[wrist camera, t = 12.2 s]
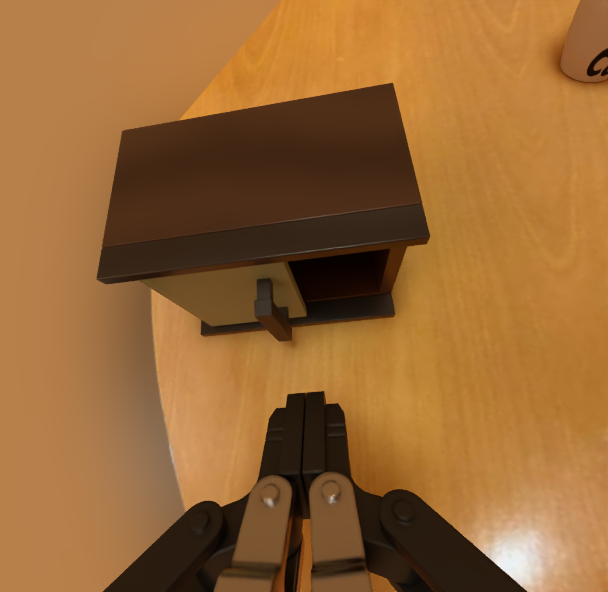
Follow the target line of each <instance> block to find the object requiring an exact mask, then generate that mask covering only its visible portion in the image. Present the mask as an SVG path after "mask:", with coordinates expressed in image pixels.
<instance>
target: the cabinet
mask: <svg viewBox="0 0 608 592" xmlns="http://www.w3.org/2000/svg"><path fill="white" fill-rule="evenodd" d="M429 238H430V234H429V230H428V226H427V222H426V217H425V213H424V209H423V205H422V200H421V196H420V192H419V188H418V184H417V180H416V176H415V172H414V167H413V163H412V159H411V155H410V151H409V147H408V143H407V139H406V135H405V130H404V126H403V122H402V118H401V114H400V110H399V106H398V102H397V98H396V93H395V89H394V85H393V83H389V84H383V85H377V86H372V87H366V88H361V89H355V90H349V91H344V92H338V93H332V94H327V95H321V96H315V97H310V98H304V99H298V100H293V101H287V102H282V103H276V104H270V105H265V106H259V107H253V108H248V109H242V110H236V111H231V112H225V113H219V114H214V115H208V116H203V117H197V118H191V119H186V120H180V121H174V122H169V123H163V124H157V125H152V126H146V127H140V128H135V129H129V130H124V131H122V136H121V141H120V147H119V153H118V158H117V164H116V170H115V176H114V181H113V187H112V193H111V198H110V204H109V210H108V215H107V221H106V227H105V233H104V239H103V244H102V247H103V248H102V250H101V256H100V262H99V268H98V274H97V280H99V281H100V282H103V283H104V284H113V283H121V282H128V281H137V280H145V279H153V278H161V277H169V276H177V275H185V274H192V273H200V272H208V271H216V270H224V269H232V268H240V267H248V266H256V265H264V264H272V263H280V262H288V264H289V267H290V269H291V272H292V274H293V276H294V279H295V281H296V284H297V286H298V289H299V291H300V293H301V296H302V298H303V301H304V303H305V306H306V309H307V316H305V317H296V318H289V324H290V326H291V327H300V326H309V325H319V324H328V323H338V322H348V321H357V320H367V319H376V318H386V317H394V315H395V311H394V305H393V300H392V294H391V292H392V289H393V286H394V283H395V280H396V277H397V274H398V272H399V269H400V266H401V263H402V260H403V257H404V254H405V251H406V248H407V246H415V245H423V244H427V242H428V240H429ZM261 330H267V329H266V328H265V327H264V326H263V325H262V324H261V323H260V322H259V321H258V322H249V323H240V324H231V325H221V326H210V325H209V324H207V323H206V322H204V321H202V320H201V335H202V336H214V335H223V334H233V333H242V332H252V331H261Z"/></svg>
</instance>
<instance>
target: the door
mask: <svg viewBox="0 0 608 592" xmlns="http://www.w3.org/2000/svg"><path fill="white" fill-rule="evenodd" d="M139 281H140V282H142V283H144V284H145V285H147V286H148V287H150V288H152V289H153V290H155V291H156V292H158V293H160V294H161V295H163V296H164V297H166V298H167V299H169V300H171V301H172V302H174V303H175V304H177V305H179V306H180V307H182V308H183V309H185V310H187V311H188V312H190V313H191V314H193V315H194V316H196V317H198V318H199V319H201V320H202V321H204V322H206V323H207V324H209V325H210V326H221V325H231V324H240V323H249V322H258V321H259V322H260V323H261V324H262V325H263V326H264V327H265V328H266V329H267V330H268V331H269V332H270V333H271V334H272V335H273V336H274V337H275V338H276V339H277V340H278V341H279V342H281V341H291V340H292V328H291V326H290V324H289V318H296V317H305V316H307V309H306V306H305V303H304V301H303V298H302V296H301V293H300V291H299V289H298V286H297V284H296V281H295V279H294V276H293V274H292V272H291V269H290V267H289V264H288V262H280V263H272V264H264V265H256V266H248V267H240V268H232V269H224V270H216V271H208V272H200V273H192V274H185V275H177V276H169V277H161V278H153V279H145V280H139Z"/></svg>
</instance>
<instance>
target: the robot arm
mask: <svg viewBox="0 0 608 592" xmlns="http://www.w3.org/2000/svg"><path fill="white" fill-rule="evenodd" d="M303 519H310V520H311V541H312V562H313V566H312V569H311V592H373V591H372V585H371V580H370V574H369V572H371V573H374V574H377V575H379V576H382V577H384V578H387V579H388V581H389V582H390V583H391V585H392V586H393V587H394V588H395V589H396V591H397V592H527V591H526V590H525V589H524V588H523V587H521V586H520V585H519V584H518V583H517V582H516V581H515V580H513V579H512V578H511V577H510V576H509V575H508V574H506V573H505V572H504V571H503V570H502V569H501V568H500V567H498V566H497V565H496V564H495V563H494V562H493V561H492V560H490V559H489V558H488V557H487V556H486V555H485V554H484V553H482V552H481V551H480V550H479V549H478V548H477V547H476V546H474V545H473V544H472V543H471V542H470V541H469V540H468V539H466V538H465V537H464V536H463V535H462V534H461V533H460V532H458V531H457V530H456V529H455V528H454V527H453V526H452V525H450V524H449V523H448V522H447V521H446V520H445V519H444V518H442V517H441V516H440V515H439V514H438V513H437V512H435V511H434V510H433V509H432V508H431V507H430V506H429V505H427V504H426V503H425V502H424V501H423V500H422V499H421V498H419V497H418V496H417V495H416V494H414V493H412V492H410V491H407V490H403V489H397V490H392V491H390V492H388V493H386V494H385V495H384V496H383V497H381V496H377V495H374V494H370V493H368V492H365V491H363V490H362V489H361V488H359V487H358V486H357V485H356V484H355V482H354V481H353V479H352V477H351V469H350V459H349V449H348V439H347V432H346V424H345V416H344V412H343V410H342V409H341V407H340V406H339V404H338V403H337V404H326V399H325V393H324V391H321V392H309V393H297V394H288V396H287V403H286V408H276V409H275V411H274V412H273V414H272V415H271V417H270V418H269V423H268V429H267V434H266V442H265V445H264V450H263V456H262V461H261V467H260V472H259V477H258V480H257V483H256V484H255V485H254V487H253V488H252V490H251V491H250V492H249V494H247V495H246V496H245V497H243V498H242V499H240V500H238V501H235V502H233V503H230V504H228V505H225V506H223V507H220V505H219V504H217V503H216V502H214V501H203V502H200V503H198V504H196V505H194V506H193V507H191V508H190V509H189V510H188V511H187V512H186V513H185V514H184V515H183V516H182V517H181V518H180V519H179V520H177V522H175V523H174V524H173V525H172V526H171V527H170V528H169V529H168V530H167V531H166V532H165V533H164V534H163V535H162V536H161V537H160V538H159V539H158V540H157V541H156V542H154V543H153V544H152V545H151V546H150V547H149V548H148V549H147V550H146V551H145V552H144V553H143V554H142V555H141V556H140V557H139V558H138V559H137V560H136V561H134V562H133V563H132V564H131V565H130V566H129V567H128V568H127V569H126V570H125V571H124V572H123V573H122V574H121V575H120V576H119V577H118V578H117V579H116V580H115V581H114V582H113V583H111V584H110V585H109V586H108V587H107V588H106V589H105V590H104V591H103V592H300V586H301V576H302V566H303V556H304V545H305V543H304V537H303V533H302V527H303Z"/></svg>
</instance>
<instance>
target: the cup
mask: <svg viewBox="0 0 608 592" xmlns="http://www.w3.org/2000/svg"><path fill="white" fill-rule="evenodd" d="M560 67H561V69H562V71H563V72H564V73H565V74H566V75H568V76H569V77H571V78H573V79H575V80H578V81H583V82H600V81H604V80H606V79H608V0H580V2H579V5H578V7H577V10H576V12H575V15H574V17H573V20H572V22H571V25H570V27H569V30H568V33H567V37H566V41H565V44H564V48H563V52H562V56H561V60H560Z"/></svg>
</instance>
